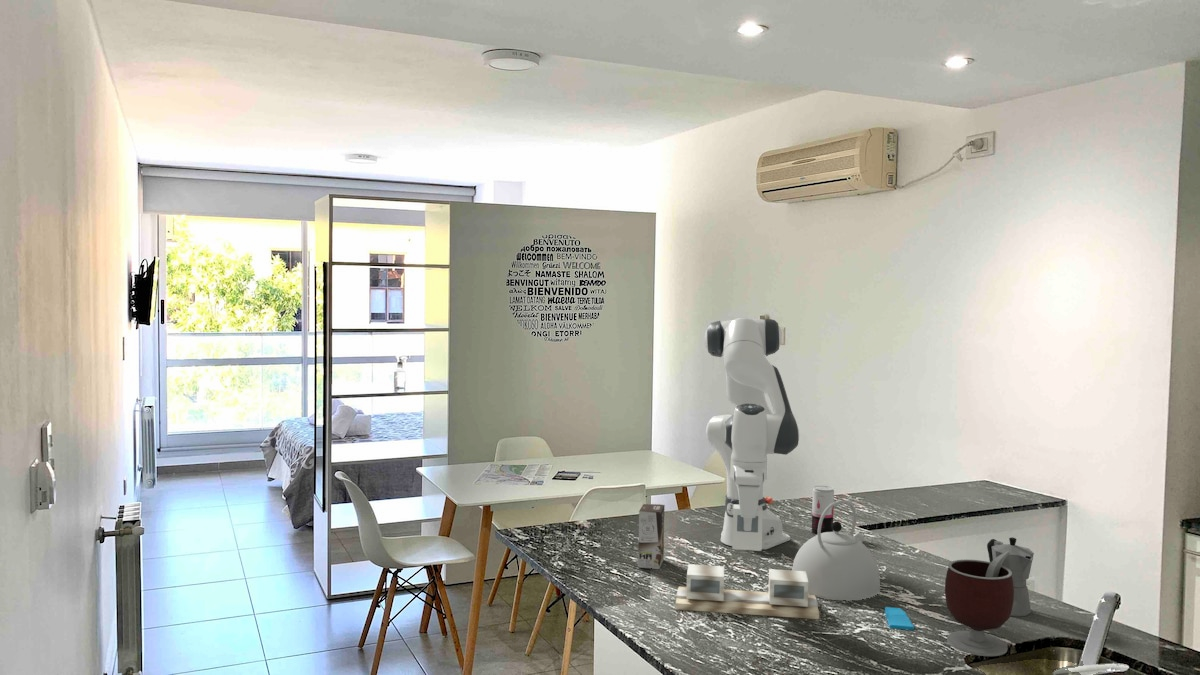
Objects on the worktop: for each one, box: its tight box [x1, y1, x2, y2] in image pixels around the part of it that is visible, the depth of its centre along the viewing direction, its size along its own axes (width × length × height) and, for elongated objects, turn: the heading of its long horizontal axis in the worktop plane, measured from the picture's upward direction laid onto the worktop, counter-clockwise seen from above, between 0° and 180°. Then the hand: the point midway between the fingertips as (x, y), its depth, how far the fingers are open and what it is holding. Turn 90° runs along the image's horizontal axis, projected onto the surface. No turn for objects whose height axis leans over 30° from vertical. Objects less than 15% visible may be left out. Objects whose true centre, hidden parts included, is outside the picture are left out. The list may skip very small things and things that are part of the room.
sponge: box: [884, 606, 916, 631], centre depth 205 cm, size 2×12×6 cm
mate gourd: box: [944, 551, 1014, 657], centre depth 191 cm, size 16×14×20 cm
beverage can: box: [811, 485, 835, 536], centre depth 275 cm, size 6×7×15 cm
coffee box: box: [637, 503, 665, 570], centre depth 244 cm, size 9×6×16 cm
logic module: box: [731, 504, 763, 552], centre depth 212 cm, size 5×7×10 cm, turn 81°
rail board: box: [674, 563, 820, 620], centre depth 213 cm, size 34×12×8 cm, turn 81°
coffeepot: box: [986, 537, 1035, 618], centre depth 213 cm, size 15×9×18 cm, turn 13°
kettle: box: [791, 500, 881, 602], centre depth 229 cm, size 25×23×23 cm
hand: (747, 526), depth 212 cm, fingers closed on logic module, 5 cm apart
